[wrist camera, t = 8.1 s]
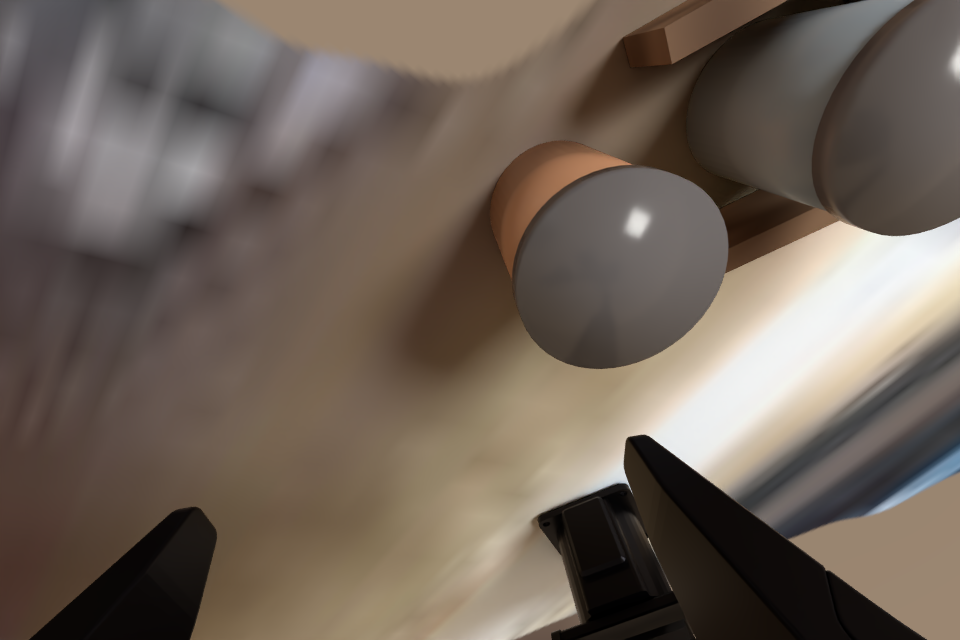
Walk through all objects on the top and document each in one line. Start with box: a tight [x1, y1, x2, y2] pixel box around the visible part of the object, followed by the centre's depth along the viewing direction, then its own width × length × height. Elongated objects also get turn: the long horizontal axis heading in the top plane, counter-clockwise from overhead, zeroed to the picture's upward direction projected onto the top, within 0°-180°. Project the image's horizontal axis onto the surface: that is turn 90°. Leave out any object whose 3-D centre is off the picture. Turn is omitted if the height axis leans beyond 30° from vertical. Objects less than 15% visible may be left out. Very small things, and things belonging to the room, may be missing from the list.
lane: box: [623, 0, 839, 273], centre depth 13 cm, size 17×9×4 cm, turn 117°
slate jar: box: [686, 0, 960, 236], centre depth 13 cm, size 6×6×7 cm
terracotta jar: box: [490, 141, 728, 369], centre depth 14 cm, size 6×6×7 cm
